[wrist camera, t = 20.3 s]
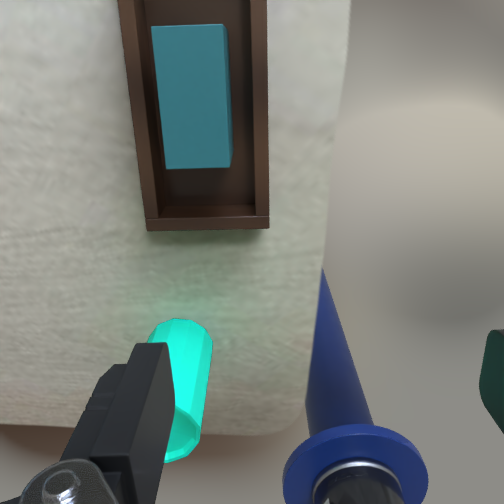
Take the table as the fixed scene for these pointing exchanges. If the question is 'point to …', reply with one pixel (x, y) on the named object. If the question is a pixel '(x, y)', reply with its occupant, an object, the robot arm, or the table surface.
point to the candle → (186, 381)
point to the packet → (194, 95)
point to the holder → (243, 114)
